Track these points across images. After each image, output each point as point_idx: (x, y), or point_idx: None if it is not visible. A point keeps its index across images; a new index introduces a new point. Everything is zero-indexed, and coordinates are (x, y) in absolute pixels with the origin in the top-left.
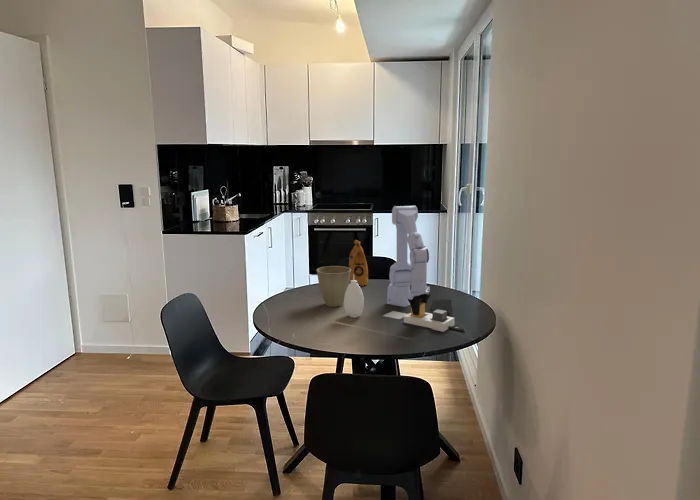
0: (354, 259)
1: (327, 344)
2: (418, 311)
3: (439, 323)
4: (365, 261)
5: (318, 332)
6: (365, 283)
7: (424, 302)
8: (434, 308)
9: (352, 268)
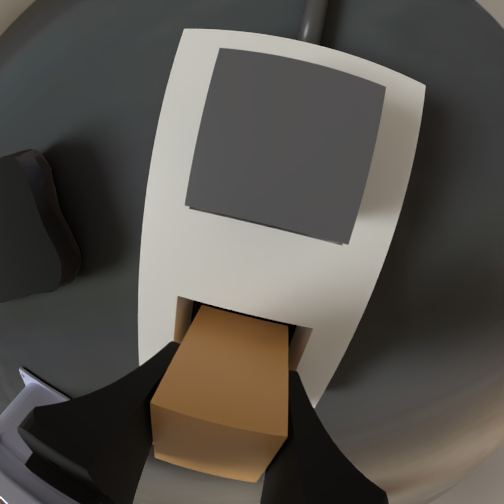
0: None
1: (498, 440)
2: (302, 393)
3: (419, 127)
4: None
5: (421, 488)
6: None
7: (143, 411)
8: (33, 277)
9: None
